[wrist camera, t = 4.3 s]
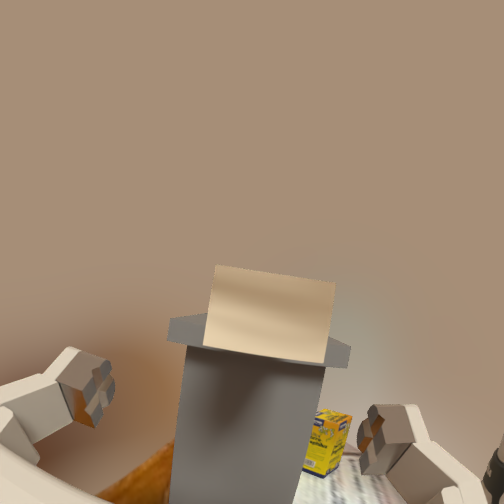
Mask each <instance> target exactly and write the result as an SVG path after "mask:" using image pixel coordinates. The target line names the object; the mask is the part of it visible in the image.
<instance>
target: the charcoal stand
mask: <svg viewBox="0 0 504 504" xmlns="http://www.w3.org/2000/svg"><path fill="white" fill-rule="evenodd" d="M207 315H208V313H205V314H198V315H192V316H184V317H178V318H171V319H170V324H169V331H168V337H167V341H172V342H176V343H181V344H185V345H187V351H186V358H185V365H184V373H183V379H182V387H181V394H180V402H179V409H178V418H177V426H176V435H175V444H174V453H173V463H172V473H171V484H170V496H169V504H292V502H293V499H294V496H295V492H296V489H297V486H298V482H299V479H300V475H301V472H302V468H303V464H304V460H305V457H306V453H307V449H308V445H309V441H310V437H311V433H312V429H313V425H314V420H315V416H316V411H317V407H318V402H319V398H320V392H321V388H322V383H323V378H324V373H325V368H326V367H336V368H347V366H348V361H349V355H350V350H351V346H348V345H346V344H344V343H342V342H340V341H337V340H335V339H333V338H330V337H329V336H328V340H327V346H326V352H325V357H324V363H315V362H306V361H298V360H290V359H283V358H276V357H269V356H262V355H256V354H249V353H243V352H237V351H232V350H226V349H221V348H215V347H210V346H205V345H203V340H204V334H205V327H206V321H207Z"/></svg>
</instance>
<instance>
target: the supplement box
mask: <svg viewBox="0 0 504 504" xmlns="http://www.w3.org/2000/svg"><path fill="white" fill-rule="evenodd" d="M351 420H352V416H350V415H346V414H342V413H338V412H335V411H331V410H328V409H323V410H321V411H319V412H316V416H315V420H314V425H313V429H312V433H311V437H310V441H309V445H308V449H307V453H306V457H305V460H304V464H303V468H302V471H305V472H307V473H310V474H312V475H315V476H318V477H320V478H325V477H326V476H327V475H328V474H329V473H331V472H332V471H333V470H335V469H337V468H338V466H339V463H340V460H341V456H342V453H343V450H344V446H345V442H346V438H347V435H348V431H349V428H350V424H351Z"/></svg>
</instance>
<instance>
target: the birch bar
mask: <svg viewBox="0 0 504 504" xmlns="http://www.w3.org/2000/svg"><path fill="white" fill-rule="evenodd" d="M335 288H336V283H333V282H326V281H319V280H312V279H306V278H299V277H293V276H286V275H280V274H273V273H267V272H261V271H254V270H248V269H241V268H235V267H229V266H223V265H217V264H216V268H215V274H214V279H213V286H212V291H211V298H210V303H209V309H208V315H207V321H206V327H205V334H204V340H203V345H205V346H210V347H215V348H221V349H226V350H232V351H237V352H243V353H249V354H256V355H262V356H269V357H276V358H283V359H290V360H298V361H306V362H315V363H324V357H325V352H326V346H327V340H328V334H329V328H330V322H331V315H332V309H333V302H334V294H335Z"/></svg>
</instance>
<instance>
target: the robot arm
mask: <svg viewBox="0 0 504 504" xmlns="http://www.w3.org/2000/svg"><path fill="white" fill-rule="evenodd" d="M111 370H112V367H111V363H110V361H108V360H106V359H104V358H101V357H98V356H95V355H92V354H89V353H87V352H84V351H80V350H78V349H76V348H73V347H67V348H66V349H65V350H64V351H63V352H62V353H61V354H60V355H59V356H58V358H57V359H56V360H55V361H54V362H53V363H52V364H51V365H50V366H49V368H48V369H47V370H46V371H45V372H44V373H43V374H39V373H38V374H36V375H33V376H30V377H27V378H24V379H21V380H18V381H15V382H12V383H9V384H6V385H3V386H0V504H113V503H111V502H108V501H106V500H103V499H101V498H99V497H96V496H94V495H92V494H89V493H87V492H85V491H83V490H80V489H78V488H76V487H74V486H72V485H70V484H68V483H66V482H64V481H62V480H60V479H58V478H56V477H54V476H53V475H51V474H49V473H47V472H45V471H43V470H41V469H40V468H38V467H37V466H36V464H37V463H38V461H39V459H40V457H39V454H38V453H37V451H36V449H35V448H34V446H33V445H32V444H33V443H35V442H37V441H39V440H41V439H43V438H45V437H46V436H48V435H50V434H52V433H54V432H55V431H57V430H59V429H60V428H62V427H64V426H66V425H68V424H69V423H71V422H73V420H74V421H77V422H80V423H82V424H85V425H87V426H90V427H92V428H96V426H97V424H98V423H99V421H100V419H101V418H102V416H103V410H102V408H104V407H106V406H108V405H109V404H110V402H111V401H112V399H113V396H114V392H115V382H114V379H113V377H112V376H111V375H110V374H109V373H110V371H111ZM367 414H368V418H367V419H365V420H364V421H362V423H361V425H360V427H359V429H358V433H357V446H358V449H359V450H360V451H361V452H362V453H363V454H362V456H361V457H360V459H359V461H360V467H361V475H386V477H387V478H388V480H389V481H390V482H391V483H392V485H393V486H394V487H395V488H396V490H397V491H398V492H399V493H400V495H401V496H402V497H403V498H404V500H405V501H406V502H407V503H408V504H504V434H503V437H502V440H501V443H500V446H499V448H497V449H496V450H495V452H494V454H493V456H492V458H491V460H490V461H489V464H488V466H487V470H486V472H485V475H484V477H483V480H482V481H481V482H480V479H479V478H478V477H477V476H475V475H474V474H473V473H472V472H471V471H469V470H468V469H467V468H466V467H465V466H463V465H462V464H461V463H460V462H459V461H457V460H456V459H455V458H454V457H453V456H451V455H450V454H449V453H448V452H447V451H445V450H444V449H443V448H442V447H441V446H439V445H438V444H437V443H436V442H435V441H430V438H429V435H428V432H427V430H426V427H425V424H424V421H423V419H422V416H421V413H420V410H419V408H418V406H417V405H416V404H407V405H406V404H405V405H404V404H403V405H399V404H398V405H377V404H376V405H375V404H374V405H372V406H371V407H370V408H369V410H368V412H367Z"/></svg>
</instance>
